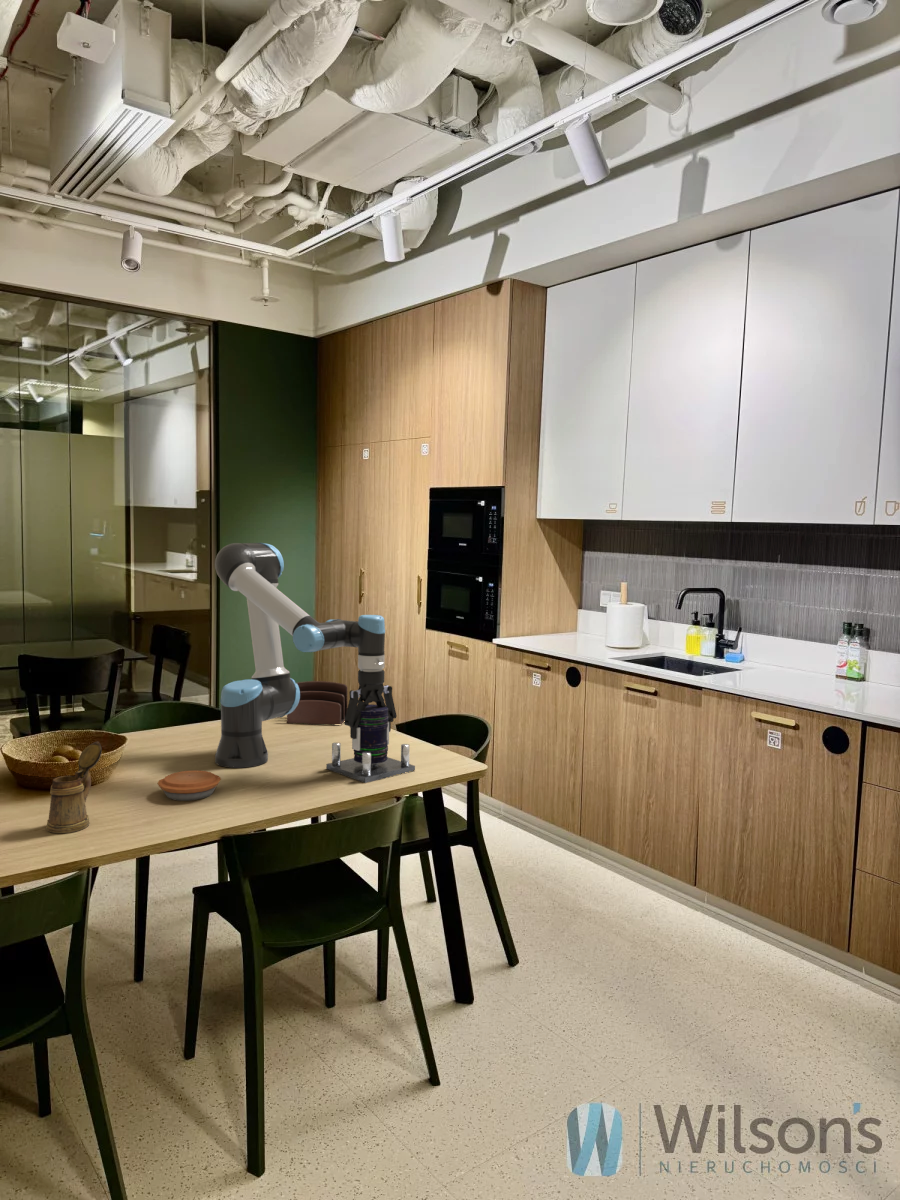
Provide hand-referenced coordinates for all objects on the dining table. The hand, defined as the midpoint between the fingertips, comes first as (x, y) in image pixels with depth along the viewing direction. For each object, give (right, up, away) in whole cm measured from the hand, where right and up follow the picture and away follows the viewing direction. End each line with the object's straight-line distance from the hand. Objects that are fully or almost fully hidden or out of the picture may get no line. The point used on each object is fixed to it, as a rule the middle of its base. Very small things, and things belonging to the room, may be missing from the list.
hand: (370, 746), depth 243 cm
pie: (-44, -8, -24) cm, 51 cm away
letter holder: (-25, -2, +62) cm, 67 cm away
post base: (0, -7, +1) cm, 7 cm away
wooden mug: (-63, -10, -48) cm, 80 cm away
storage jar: (0, -4, 0) cm, 4 cm away
